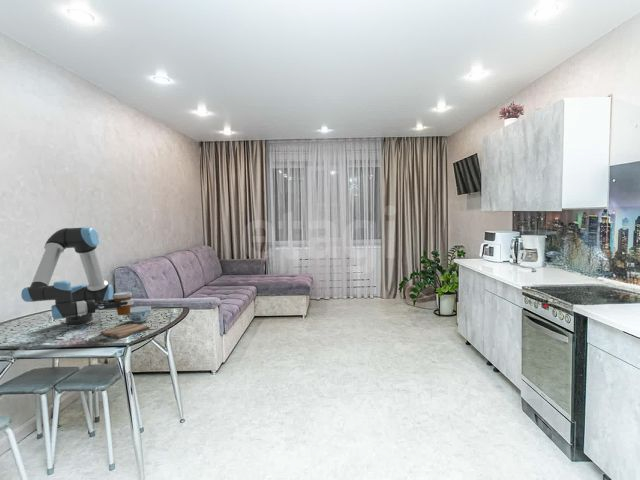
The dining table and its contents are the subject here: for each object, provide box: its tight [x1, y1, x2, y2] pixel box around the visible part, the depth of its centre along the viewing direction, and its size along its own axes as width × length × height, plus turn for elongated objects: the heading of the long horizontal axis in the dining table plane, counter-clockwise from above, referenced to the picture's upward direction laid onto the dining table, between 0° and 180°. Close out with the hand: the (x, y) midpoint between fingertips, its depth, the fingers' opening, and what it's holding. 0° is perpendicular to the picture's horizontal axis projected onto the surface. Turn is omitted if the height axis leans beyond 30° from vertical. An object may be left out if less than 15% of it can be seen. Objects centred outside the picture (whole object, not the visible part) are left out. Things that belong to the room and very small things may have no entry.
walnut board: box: [100, 322, 150, 339], centre depth 220 cm, size 18×18×2 cm
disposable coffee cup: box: [112, 291, 133, 316], centre depth 219 cm, size 10×10×12 cm
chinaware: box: [125, 305, 152, 324], centre depth 242 cm, size 15×15×8 cm
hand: (132, 300), depth 222 cm, fingers closed on disposable coffee cup, 8 cm apart
